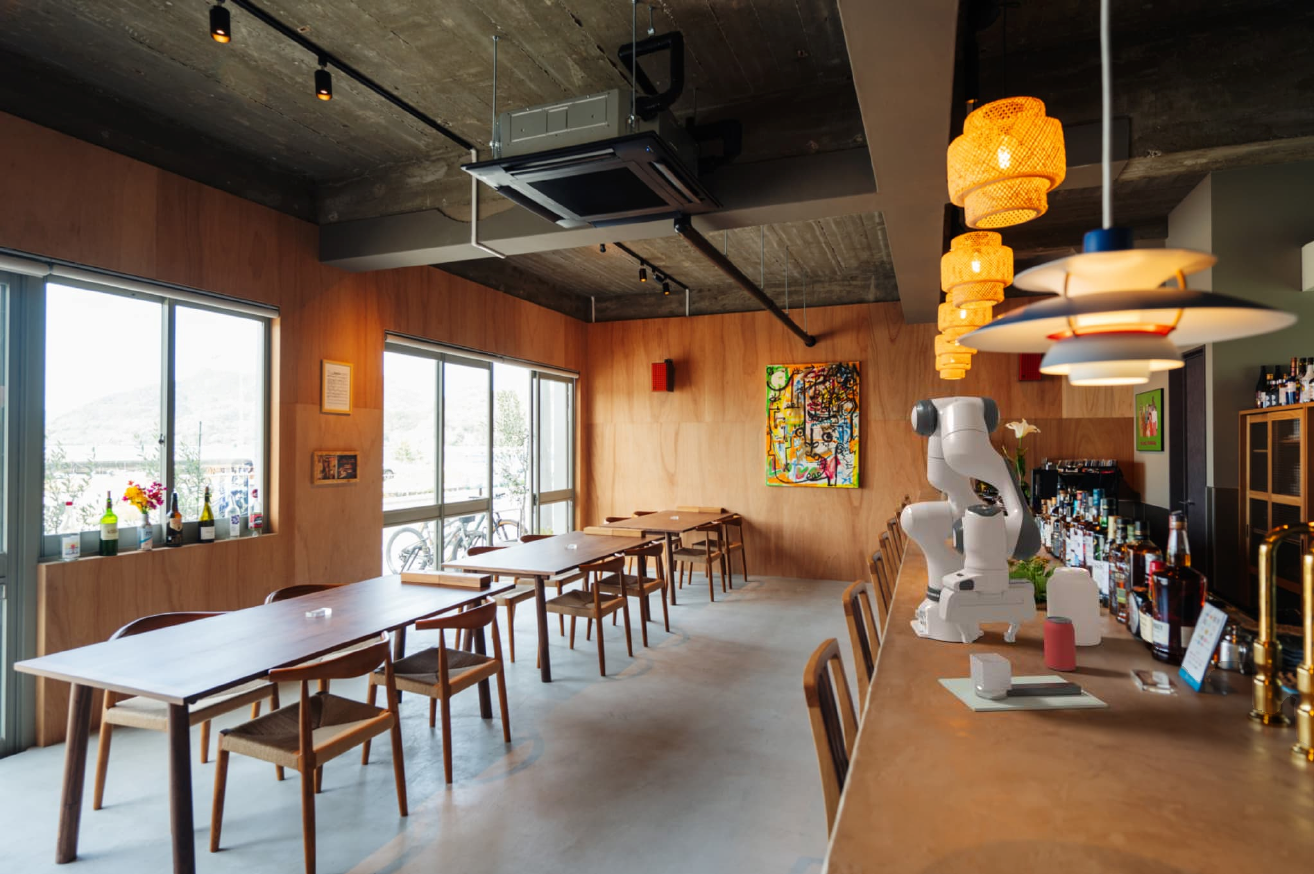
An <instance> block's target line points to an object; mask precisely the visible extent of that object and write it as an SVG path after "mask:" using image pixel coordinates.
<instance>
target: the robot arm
mask: <svg viewBox="0 0 1314 874" xmlns="http://www.w3.org/2000/svg"><path fill="white" fill-rule="evenodd" d="M1000 414H1001V413H1000V409H999V407H998V403H997V402H996V401H995V400H994V399H993V398H990V397H985V396H979V397H975V396H954V397H952V396H951V397H940V398H939V397H938V398H933V399H931V398H925V399H921V400H918V401H917V402H916V403H915V404H914V407H913V409H912V411H911V417H910V421H911V425H912V427H913V430H914V432H915V433H916V434H917V435H918V436H921V437H925V438H928V441H927V442H928V443H927V463H926V464H927V471H926V472H927V474H926V475H927V476H926V477H927V480H928V483H929V484H930V485H931V486H932V487H934V488H935V489H937V490H938V491H941V492H944V493H946V494H947V500H945V501H922V502H915V503H911V504H907V505H906V506H905V507H904V508H903V510H902V512H901V514H900V517H899V519H900V520H899V521H900V526H901V530H902V531H903V532H904V533H905V535H906V536H908V538H910V539H912V540H913V541H914V542H915V543H916V544H917V545H918V546H919V547H920V549H921V550H922V552H923V554H924V556H925V561H926V565H927V574H928V585H927V586H926V594H925V596H926V598H925V599H924V600H923V602H922V603H920V604H919V605H918V608H917V609H915V610H914V616H915V618H917V619H913V620H911V621H910V626H911V628H912V629H913V630H914V632H915V634H916V635H917V636H918V637H920V638H928V639H933V640H937V641H944V642H952V643H956V642H957V643H958V642H960V643H962V642H963V644H973V641H975V640H977V639H979V638H980V637H982V636H985V633H984V631H983V630H981V629H980V625H979V624H983V623H984V624H986V623H987V624H988V623H990V624H991V623H1008V624H1009V625H1010V626H1009V629H1008V631H1003V635H1004V636H1003V637H1004V641H1005V642H1008V643H1012V642H1013V643H1014V642H1016V634H1017V633H1018V630H1019V629H1020V627H1021V622H1034V621H1035V620H1036V618H1037V616H1038V615H1037V614H1038V613H1037V608H1036V605H1035V599H1034V585H1033V583H1032V582H1031V581H1029V580H1027V579H1026V578H1020V579H1015V578H1010V579H1009V570H1010V568H1009V569H1008V563H1007V559H1006V558H1011V560H1016V561H1018V560H1028V559H1030V558H1032V557H1033V556H1034V557H1035V556H1036V555H1037V554H1038V553H1039V552H1040V551H1041V550H1042V549H1041V548H1042V534H1041V531H1040V529H1039V526H1038V523H1037V522H1036V520H1035V518H1034V516H1033V515H1032V512H1031V510H1030V507H1029V506H1028V503H1027V501H1026V498H1025V496H1024V493H1023V491H1022V488H1021V485H1020V483H1019V480H1018V478H1017V475H1016V473H1015V470H1014V469H1013V466H1012V465H1011V463H1010V461H1009V459H1008V458H1007V457H1006V456H1003V455H1002V454H999V452H998V451H997V450H996V449H995V448H994V446H993V445H992V443H991V441H990V436H989V435H991V434H993V433H995V431H996V430H997V429H998V426H999V422H1000V419H1001V417H1000V416H1001V415H1000ZM971 478H972V479H975V480H979V481H982V482H984V483H988V484H989V485H991V486H992V487H994V488H996V489H997V490H998V492H999V495H1000V497H1001V499H1002V502H1003V505H1004V508H1005V511H1006V512H1007V516H1006V515H1005V513H1004V512H1003V509H1001V508H1000V507H998V506H996V505H991V504H987V503H985V502H983V500H981V499H980V498H979V497H978V496H977V494H976V492H975V491H974V489H973V487H972V484H971ZM948 540H952V543H951V544H952V547H951V548H952V549H951V548H949V546H948V543H947V541H948ZM1027 582H1029V583H1027Z"/></svg>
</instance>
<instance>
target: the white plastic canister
mask: <svg viewBox="0 0 1314 874" xmlns="http://www.w3.org/2000/svg"><path fill="white" fill-rule="evenodd" d="M1100 609H1101V607H1100V588H1099V585H1098V582H1097V581H1096V580H1095V579H1094V578H1093V577H1091V573H1090V570H1089V569H1086V568H1083V567H1075V566H1073V567H1072V566H1059V568H1055V570H1054V574H1053V575H1052V576H1051V577H1050V578H1049V579H1048V581H1047V608H1046V611H1047V617H1051V616H1056V617H1065V618H1069V619H1071V620H1072V624H1073V626H1074V629H1075V647H1076V646H1077V647H1091V646H1097V645H1099V644H1100V643H1101V641H1102V635H1101V610H1100Z"/></svg>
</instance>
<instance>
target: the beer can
mask: <svg viewBox="0 0 1314 874" xmlns="http://www.w3.org/2000/svg"><path fill="white" fill-rule="evenodd" d="M1043 643H1044V645H1043V646H1044V664H1045V666H1046V667H1047V668H1049V669H1051V670H1053V671H1057V672H1072V671H1075V670H1076V668H1077V659H1076V657H1077V656H1076V653H1077V652H1076V646H1075V629H1074V626H1073V624H1072V620H1071V619H1069V618H1065V617H1056V616H1051V617H1048V616H1046V618H1045V622H1044V624H1043Z"/></svg>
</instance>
